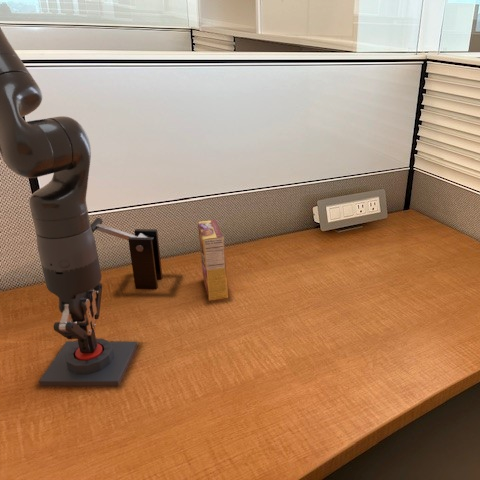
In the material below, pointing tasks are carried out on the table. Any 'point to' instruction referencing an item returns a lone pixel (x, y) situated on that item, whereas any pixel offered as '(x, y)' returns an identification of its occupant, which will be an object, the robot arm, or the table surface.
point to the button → (89, 354)
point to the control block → (90, 365)
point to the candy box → (213, 259)
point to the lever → (113, 230)
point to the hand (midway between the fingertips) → (89, 350)
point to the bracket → (145, 259)
